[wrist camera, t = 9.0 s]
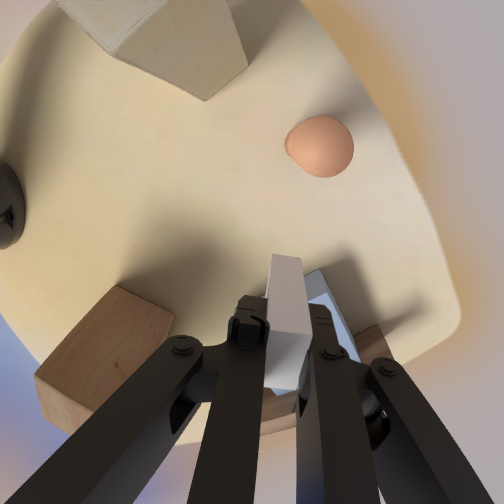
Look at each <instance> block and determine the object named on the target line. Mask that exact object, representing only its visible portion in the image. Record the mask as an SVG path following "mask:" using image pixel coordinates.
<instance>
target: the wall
mask: <svg viewBox="0 0 504 504" xmlns="http://www.w3.org/2000/svg"><path fill="white" fill-rule="evenodd" d="M353 339H354V342H355V345H356V348H357V351H358V354H359V357H360V360H361V363H363V364H367V365H370V363H371V362H372V361H373V360H374V359H375V358H378V357H387V358H390V359H393V360H394V358H393V356H392V353H391V351H390V349H389V347H388V344H387V342H386V340H385V338H384V336H383V334H382V332H381V329H380V327H379V325H378V324H377V325H375V326H372V327H370V328H368V329H366V330H364V331H362V332H360V333H358V334H356V335H353ZM298 392H299V389H297V390H294V391H291V392H289V393H286V394H282V395H279V396H277V395H276V394H275V393H274V392H273V390H272V389H271V388H268V387H264V389H263V402H262V415H261V427H260V436H263V435H267V434H271V433H275V432H279V431H283V430H286V429H290V428H293V427H296V410H295V413H291V412H292V409H293V406H294V403H295V400H296V397H297V394H298Z"/></svg>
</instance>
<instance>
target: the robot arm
mask: <svg viewBox="0 0 504 504" xmlns="http://www.w3.org/2000/svg"><path fill="white" fill-rule="evenodd" d="M24 219H25V208H24V199H23V194H22V190H21V187H20V184H19V181H18V179H17V177H16V175H15V173H14V172H13V170H12V169H11V168H10V167H9V166H8V165H7V164H6V163H4V162H0V250H3V249H6V248H8V247H10V246H11V245H13V244H15V243H16V242H17V241H18V240H19V238H20V236H21V234H22V231H23V227H24ZM298 382H299V392H298V394H297V397H296V400H295V403H294V406H293V409H292V412H291V413H295V410H296V440H297V441H296V445H297V484H296V485H297V487H296V504H381V503H380V497H379V490H378V487H379V489H380V492H381V494H382V496H383V498H384V500H385V502H386V504H494V502H493V501H492V499H491V498H490V496H489V494H488V492H487V491H486V489H485V488H484V486H483V484H482V483H481V481H480V479H479V478H478V476H477V474H476V473H475V471H474V470H473V468H472V466H471V465H470V463H469V462H468V460H467V459H466V457H465V456H464V454H463V453H462V451H461V449H460V448H459V446H458V445H457V443H456V442H455V440H454V439H453V437H452V436H451V434H450V433H449V432H448V430H447V429H446V427H445V426H444V424H443V423H442V421H441V420H440V418H439V417H438V416H437V414H436V413H435V411H434V410H433V408H432V407H431V406H430V404H429V403H428V401H427V400H426V399H425V397H424V396H423V394H422V393H421V392H420V390H419V389H418V387H417V386H416V385H415V384H414V382H413V381H412V380H411V378H410V377H409V375H408V374H407V372H406V371H405V370H404V368H403V367H402V366H401V365H400V364H399V363H398V362H396V361H395V360H393V359H390V358H387V357H378V358H375V359H374V360H373V361H372V362H371V363H370V365H367V364H363V363H360V362H357V361H354V360H352V359H350V357H349V354H348V352H347V350H346V349H345V348H344V347H342V346H341V345H339V341H338V337H337V333H336V330H335V326H334V322H333V318H332V314H331V311H330V310H329V309H328V308H327V307H326V306H325V305H322V304H313V303H308V300H307V294H306V288H305V281H304V276H303V270H302V264H301V258H297V257H290V256H283V255H276V254H272V257H271V263H270V270H269V276H268V282H267V288H266V295H265V298H261V297H254V296H247V295H245V296H243V297H242V298H241V299H240V300H239V301H238V305H237V309H236V314H235V315H234V316H232V317H231V318H230V320H229V323H228V333H227V340H226V341H225V342H224V343H222V344H219V345H215V346H202V344H201V342H200V341H199V340H198V339H196V338H194V337H191V336H187V335H176V336H173V337H170V338H168V339H167V340H165V341H164V342H163V343H162V344H161V345H160V346H159V347H158V348H157V349H156V350H155V351H154V352H153V354H152V355H151V356H150V357H149V358H148V359H147V360H146V361H145V362H144V363H143V364H142V365H141V366H140V367H139V368H138V369H137V370H136V371H135V372H134V373H133V374H132V375H131V376H130V377H129V378H128V379H127V380H126V381H125V382H124V383H123V384H122V385H121V386H120V387H119V388H118V389H117V390H116V391H115V392H114V393H113V394H112V395H111V396H110V397H109V398H108V399H107V400H106V401H105V402H104V403H103V404H102V405H101V406H100V407H99V408H98V409H97V410H96V411H95V412H94V413H93V414H92V415H91V416H90V417H89V418H88V419H87V420H86V421H85V422H84V423H83V424H82V425H81V426H80V427H79V428H78V429H77V430H76V431H75V432H74V433H73V434H72V435H71V436H70V438H68V439H67V440H66V442H64V444H63V445H62V446H61V447H60V448H59V449H58V450H57V451H56V452H55V453H54V454H53V455H52V456H51V457H50V458H49V459H48V460H47V461H46V462H45V463H44V464H43V465H42V466H41V467H40V468H39V469H38V470H37V471H36V472H35V473H34V474H33V475H32V476H31V477H30V478H29V479H28V480H27V481H26V482H25V483H24V484H23V485H22V486H21V487H20V488H19V489H18V490H17V491H16V492H15V493H14V494H13V495H12V496H11V497H10V498H9V499H8V500H7V501H6V502H5V503H4V504H133V502H134V501H135V499H136V498H137V497H138V495H139V494H140V492H141V491H142V490H143V488H144V487H145V486H146V484H147V483H148V481H149V480H150V479H151V477H152V476H153V474H154V473H155V471H156V470H157V469H158V467H159V466H160V464H161V463H162V461H163V460H164V459H165V457H166V456H167V454H168V453H169V451H170V450H171V448H172V447H173V446H174V444H175V443H176V441H177V440H178V438H179V437H180V436H181V434H182V433H183V431H184V430H185V428H186V427H187V425H188V424H189V422H190V421H191V419H192V418H193V416H194V415H195V413H196V412H197V410H198V409H199V407H200V406H201V403H202V402H211V406H210V411H209V415H208V419H207V423H206V427H205V431H204V435H203V439H202V443H201V447H200V451H199V456H198V459H197V463H196V468H195V471H194V475H193V480H192V484H191V488H190V492H189V496H188V500H187V504H253V503H254V493H255V482H256V472H257V461H258V450H259V439H260V438H259V437H260V427H261V415H262V402H263V389H264V387H268V388H277V389H287V390H296V388H297V385H298ZM383 411H384V412H385V414H386V415H387V416H386V415H385V414H384V412H383Z"/></svg>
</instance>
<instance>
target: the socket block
mask: <svg viewBox="0 0 504 504" xmlns="http://www.w3.org/2000/svg"><path fill="white" fill-rule="evenodd" d="M304 281H305V288H306V294H307V300H308V303H313V304H322V305H325V306H326V307H327V308H328V309H329V310H330V311H331V314H332V318H333V322H334V326H335V330H336V333H337V337H338V341H339V345H341V346H342V347H344V348H345V349H346V350H347V352H348V354H349V357H350V359H352V360H354V361H357V362H360V363H361V360H360V357H359V354H358V351H357V348H356V345H355V342H354V339H353V336H352V334H351V332H350V329H349V327H348V325H347V323H346V321H345V319H344V317H343V315H342V313H341V311H340V309H339V307H338V304H337V302H336V300H335V298H334V296H333V294H332V292H331V290H330V288H329V286H328V284H327V282H326V280H325V278H324V276H323V274H322V272H321V271H320V269H318V270H316V271H314V272H311V273H309V274H307V275H305V276H304ZM265 295H266V294H265ZM265 295H263V296H261V298H265ZM236 309H237V308H236ZM236 309H235V313H234V315H235V314H236ZM271 389H272V390H273V392H274V393H275V394H276V395H277V396H279V395H282V394H286V393H289V392H291V391H294V390H287V389H277V388H271ZM297 389H299V382H298V385H297V388H296V390H297Z"/></svg>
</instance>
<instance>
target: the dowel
mask: <svg viewBox="0 0 504 504" xmlns="http://www.w3.org/2000/svg"><path fill="white" fill-rule="evenodd" d="M285 149H286V151H287V153H288V155H289V156H290V157H291V158H292V159H293V160H294V161H295V162H296V163H297V164H298V165H299V166H300V167H301V168H302V169H303V170H304V171H306V172H307V173H309V174H311V175H313V176H317V177H332V176H335V175H337V174H339V173H341V172H342V171H343V170H345V169H346V168H347V166H348V165H349V163H350V162H351V160H352V157H353V152H354V144H353V139H352V136H351V134H350V132H349V131H348V129H347V128H346V127H345V126H344V125H343V124H342V123H341V122H339V121H338V120H336V119H333V118H331V117H326V116H318V117H313V118H310V119H308V120H306V121H305V122H303V123H302V124H300V125H299V126H297V127H296V128H294V129H293V130H292V131H290V132H289V134H288V135H287V137H286V139H285Z"/></svg>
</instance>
